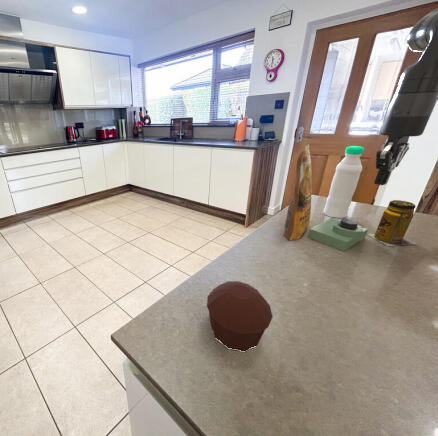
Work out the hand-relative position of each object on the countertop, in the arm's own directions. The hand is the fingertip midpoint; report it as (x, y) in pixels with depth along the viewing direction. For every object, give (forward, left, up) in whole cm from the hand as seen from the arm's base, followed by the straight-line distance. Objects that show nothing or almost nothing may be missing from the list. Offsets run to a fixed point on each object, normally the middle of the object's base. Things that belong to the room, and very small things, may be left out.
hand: (380, 184), depth 63 cm
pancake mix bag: (+8, -15, -19) cm, 25 cm away
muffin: (+55, +2, -19) cm, 58 cm away
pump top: (+2, -3, -14) cm, 14 cm away
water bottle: (-16, -13, -19) cm, 28 cm away
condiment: (-9, +5, -19) cm, 21 cm away
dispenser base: (+2, -5, -18) cm, 19 cm away
